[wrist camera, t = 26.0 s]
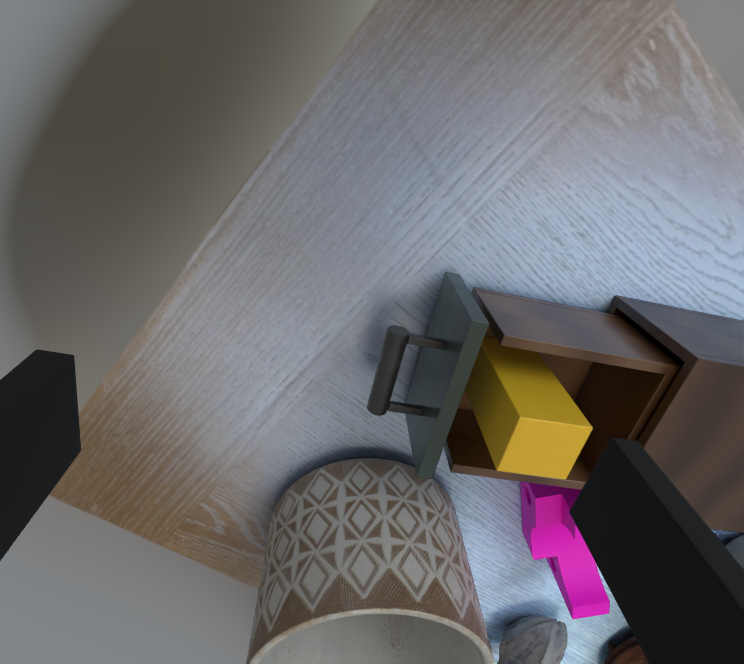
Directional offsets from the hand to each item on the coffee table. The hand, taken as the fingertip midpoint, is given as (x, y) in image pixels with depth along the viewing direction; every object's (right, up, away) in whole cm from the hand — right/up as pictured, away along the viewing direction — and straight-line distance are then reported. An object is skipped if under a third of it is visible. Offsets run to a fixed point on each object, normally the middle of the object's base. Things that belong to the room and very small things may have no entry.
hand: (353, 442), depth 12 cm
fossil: (+19, -35, +50) cm, 64 cm away
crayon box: (+11, 0, +28) cm, 30 cm away
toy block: (+20, -17, +40) cm, 48 cm away
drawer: (+10, +1, +29) cm, 31 cm away
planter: (0, -17, +39) cm, 43 cm away
